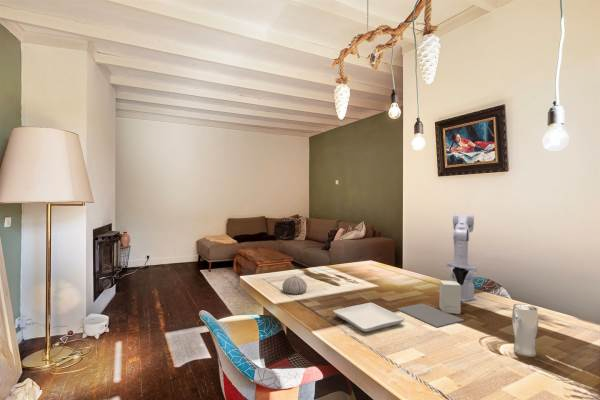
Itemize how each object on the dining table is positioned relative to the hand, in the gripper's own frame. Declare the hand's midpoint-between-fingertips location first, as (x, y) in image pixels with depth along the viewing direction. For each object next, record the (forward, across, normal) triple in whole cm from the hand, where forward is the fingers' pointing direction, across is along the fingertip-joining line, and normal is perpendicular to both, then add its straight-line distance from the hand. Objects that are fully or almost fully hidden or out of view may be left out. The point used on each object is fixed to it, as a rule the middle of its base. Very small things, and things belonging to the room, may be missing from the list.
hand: (460, 284), depth 147 cm
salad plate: (+12, -5, -49) cm, 51 cm away
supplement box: (+11, +1, -8) cm, 13 cm away
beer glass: (+12, +38, -18) cm, 44 cm away
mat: (+11, +1, -21) cm, 24 cm away
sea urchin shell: (+11, -54, -60) cm, 81 cm away
